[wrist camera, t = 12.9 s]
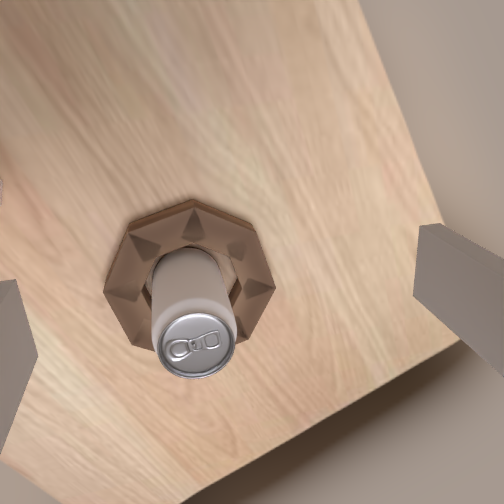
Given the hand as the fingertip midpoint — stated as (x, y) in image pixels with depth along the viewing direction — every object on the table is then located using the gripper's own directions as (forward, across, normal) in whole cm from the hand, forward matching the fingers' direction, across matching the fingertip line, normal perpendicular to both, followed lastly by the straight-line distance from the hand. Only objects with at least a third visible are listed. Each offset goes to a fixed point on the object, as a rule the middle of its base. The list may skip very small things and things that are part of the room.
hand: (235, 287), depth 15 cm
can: (+27, -1, -12) cm, 30 cm away
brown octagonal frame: (+27, -1, -12) cm, 29 cm away
